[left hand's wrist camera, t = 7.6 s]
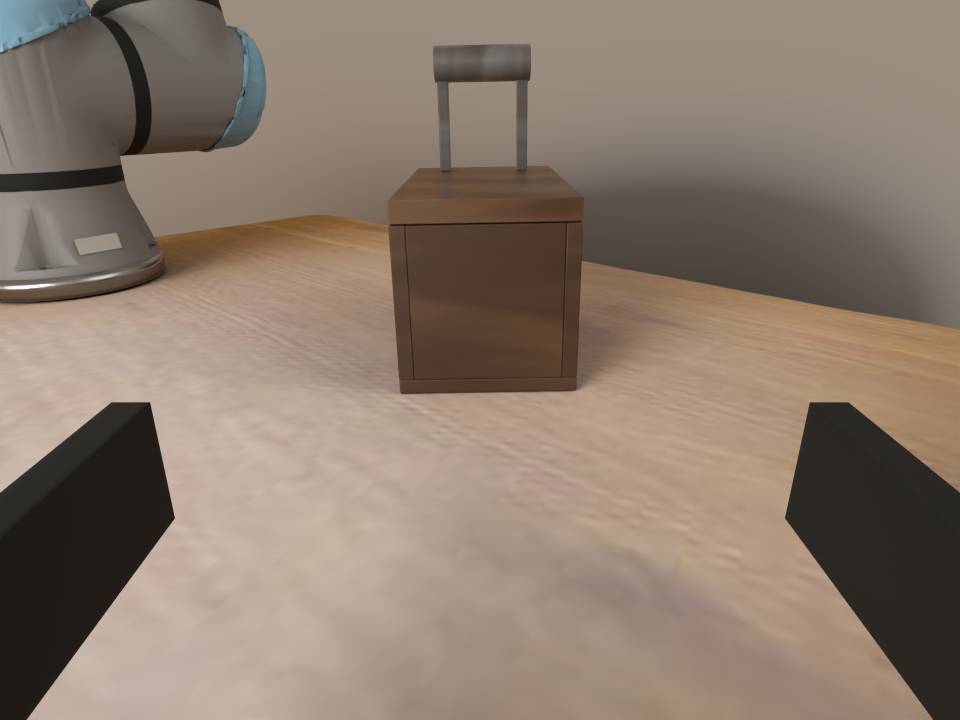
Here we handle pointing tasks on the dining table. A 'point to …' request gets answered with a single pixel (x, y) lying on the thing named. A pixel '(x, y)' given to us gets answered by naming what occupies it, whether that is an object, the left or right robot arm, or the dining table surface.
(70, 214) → the right robot arm
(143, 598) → the dining table surface
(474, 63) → the lid
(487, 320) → the chest
